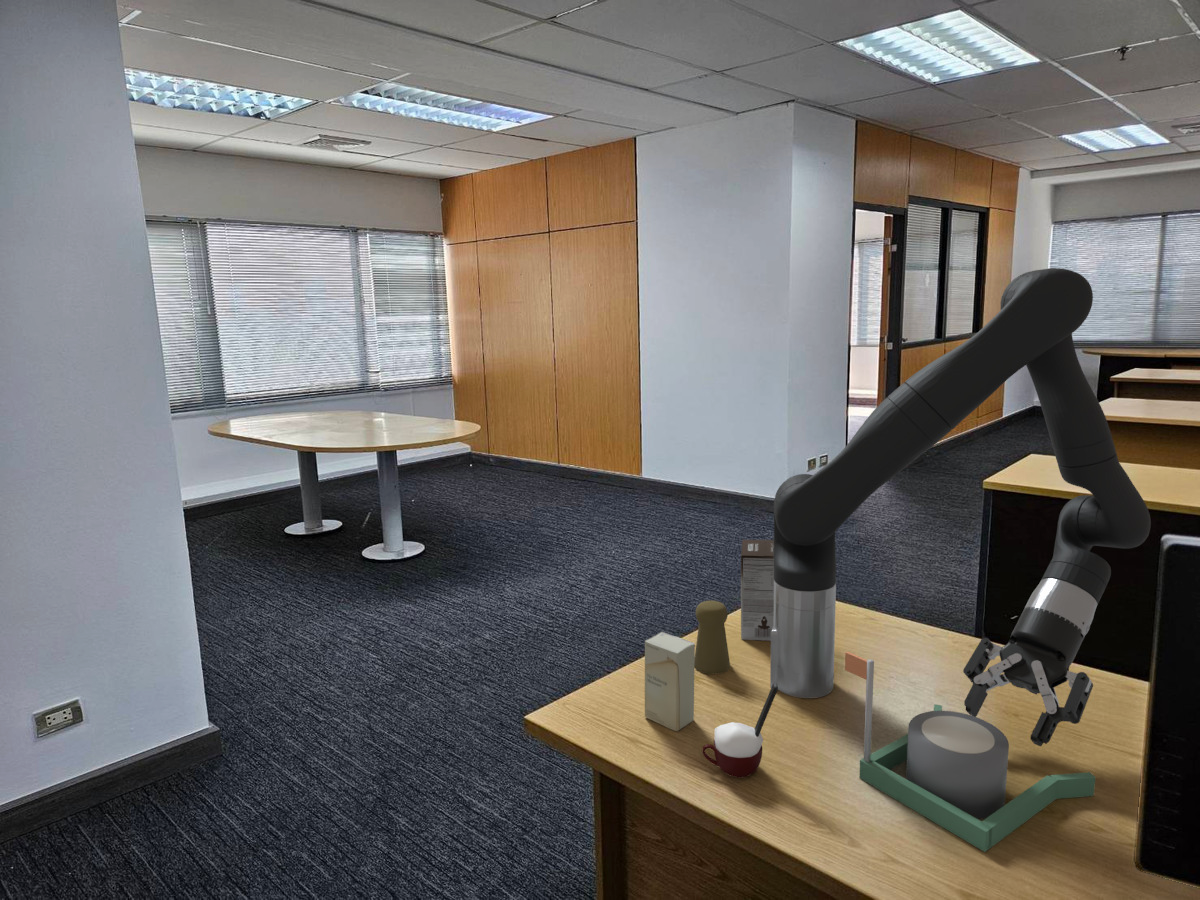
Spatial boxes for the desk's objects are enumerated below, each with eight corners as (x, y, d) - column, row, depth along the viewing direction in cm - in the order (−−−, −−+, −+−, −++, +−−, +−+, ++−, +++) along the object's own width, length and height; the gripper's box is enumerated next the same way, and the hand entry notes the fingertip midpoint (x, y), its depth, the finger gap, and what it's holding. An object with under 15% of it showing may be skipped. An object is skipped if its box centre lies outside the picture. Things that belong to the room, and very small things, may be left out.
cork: (708, 653, 132) (708, 593, 129) (737, 664, 127) (737, 602, 125) (686, 666, 127) (685, 604, 125) (715, 677, 123) (715, 613, 121)
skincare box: (643, 717, 112) (641, 640, 110) (662, 705, 115) (661, 630, 113) (678, 733, 108) (676, 653, 106) (696, 720, 111) (695, 642, 109)
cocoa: (699, 776, 99) (693, 691, 96) (716, 749, 104) (710, 668, 102) (771, 793, 94) (767, 705, 92) (785, 764, 100) (781, 680, 97)
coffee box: (741, 619, 145) (741, 538, 142) (776, 620, 144) (776, 539, 141) (740, 640, 136) (740, 554, 133) (777, 642, 135) (778, 555, 132)
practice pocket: (931, 717, 110) (936, 612, 107) (1095, 794, 92) (1107, 671, 89) (840, 766, 99) (843, 651, 96) (1005, 864, 81) (1016, 727, 78)
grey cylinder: (904, 807, 91) (907, 749, 89) (907, 756, 101) (909, 703, 99) (1008, 829, 87) (1013, 768, 85) (1000, 773, 97) (1004, 718, 95)
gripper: (992, 591, 106) (939, 693, 102) (1104, 625, 94) (1049, 741, 90) (1011, 617, 110) (960, 716, 106) (1121, 653, 98) (1069, 765, 94)
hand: (1001, 727), depth 98 cm, fingers open, 8 cm apart
